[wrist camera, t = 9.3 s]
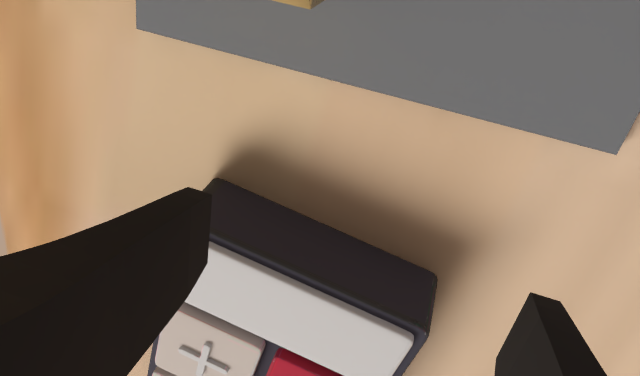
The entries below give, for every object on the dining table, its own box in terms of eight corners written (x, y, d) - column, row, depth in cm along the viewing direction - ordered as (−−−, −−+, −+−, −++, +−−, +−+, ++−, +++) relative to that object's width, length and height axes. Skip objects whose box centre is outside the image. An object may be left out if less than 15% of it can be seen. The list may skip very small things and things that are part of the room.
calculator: (132, 422, 29) (163, 227, 20) (172, 361, 32) (214, 172, 23) (314, 511, 28) (430, 348, 19) (335, 438, 31) (441, 272, 23)
